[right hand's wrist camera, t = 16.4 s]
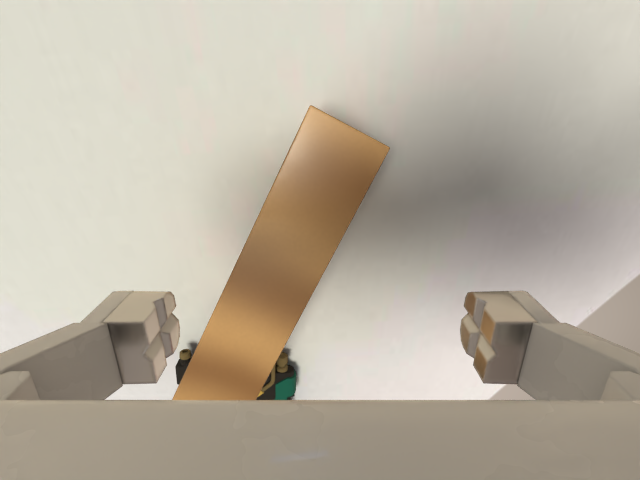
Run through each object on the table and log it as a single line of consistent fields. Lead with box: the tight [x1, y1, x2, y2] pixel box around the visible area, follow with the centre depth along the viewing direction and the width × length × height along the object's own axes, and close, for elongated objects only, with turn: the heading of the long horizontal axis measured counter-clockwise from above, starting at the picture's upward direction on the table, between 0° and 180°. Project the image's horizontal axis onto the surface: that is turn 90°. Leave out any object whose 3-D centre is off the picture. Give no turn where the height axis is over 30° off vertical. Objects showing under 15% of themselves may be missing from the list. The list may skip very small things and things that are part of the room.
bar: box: [172, 105, 390, 400], centre depth 28 cm, size 23×5×8 cm, turn 153°
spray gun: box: [176, 349, 296, 400], centre depth 38 cm, size 4×17×15 cm
